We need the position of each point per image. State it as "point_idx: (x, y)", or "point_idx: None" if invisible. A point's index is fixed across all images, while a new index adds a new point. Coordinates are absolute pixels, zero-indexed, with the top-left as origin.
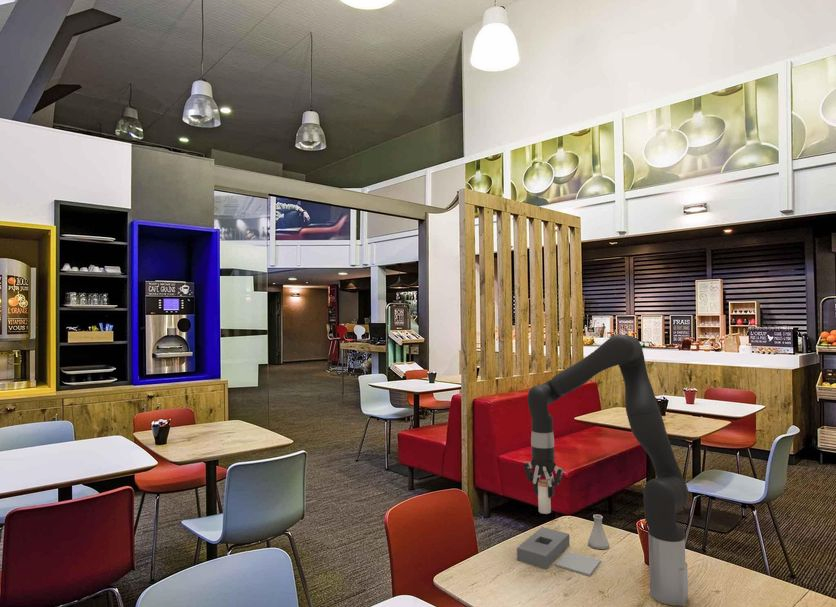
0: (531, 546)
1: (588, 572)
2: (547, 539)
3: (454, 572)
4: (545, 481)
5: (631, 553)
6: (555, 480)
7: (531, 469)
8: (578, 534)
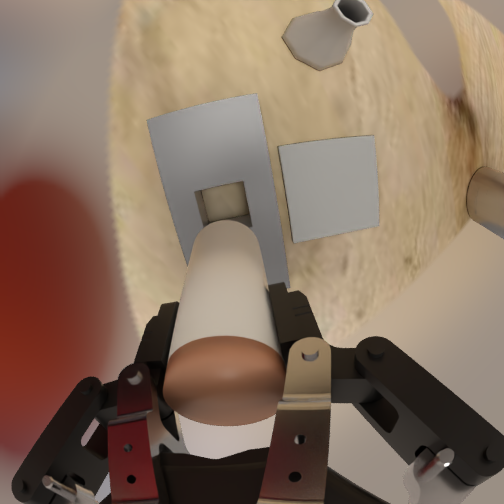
0: None
1: (374, 220)
2: (222, 184)
3: None
4: (236, 390)
5: (398, 43)
6: (381, 421)
7: (59, 453)
8: (228, 13)
